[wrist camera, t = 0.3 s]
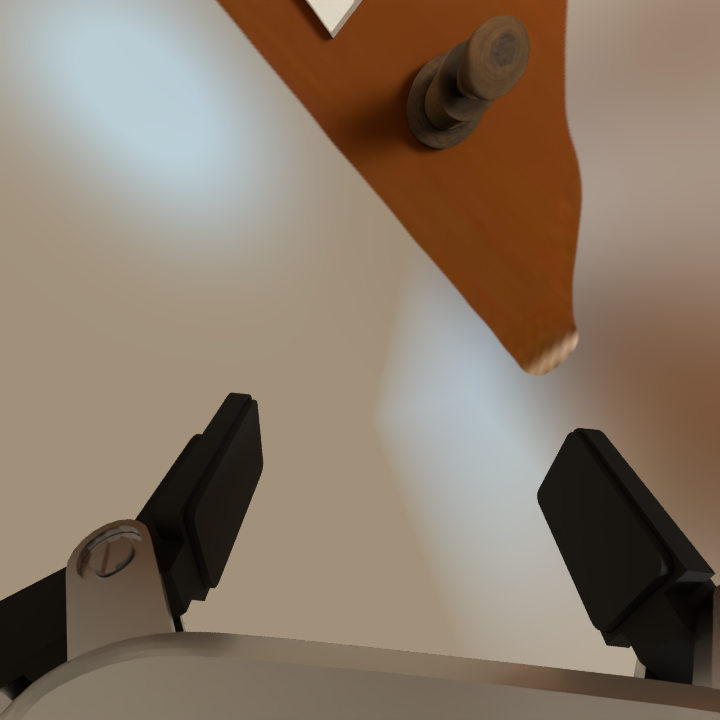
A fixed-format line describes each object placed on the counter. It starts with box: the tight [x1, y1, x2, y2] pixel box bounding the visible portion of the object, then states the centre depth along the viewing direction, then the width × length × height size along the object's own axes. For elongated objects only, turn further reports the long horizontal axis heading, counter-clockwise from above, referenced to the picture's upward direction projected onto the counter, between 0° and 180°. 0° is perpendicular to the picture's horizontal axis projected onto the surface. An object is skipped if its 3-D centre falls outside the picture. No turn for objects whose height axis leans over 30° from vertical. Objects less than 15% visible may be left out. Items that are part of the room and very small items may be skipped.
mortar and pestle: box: [407, 15, 530, 149], centre depth 23 cm, size 7×6×18 cm
